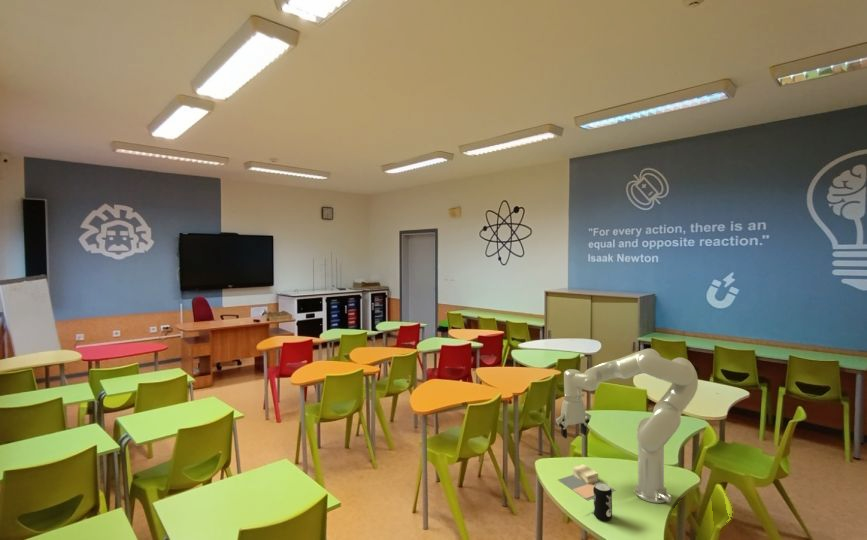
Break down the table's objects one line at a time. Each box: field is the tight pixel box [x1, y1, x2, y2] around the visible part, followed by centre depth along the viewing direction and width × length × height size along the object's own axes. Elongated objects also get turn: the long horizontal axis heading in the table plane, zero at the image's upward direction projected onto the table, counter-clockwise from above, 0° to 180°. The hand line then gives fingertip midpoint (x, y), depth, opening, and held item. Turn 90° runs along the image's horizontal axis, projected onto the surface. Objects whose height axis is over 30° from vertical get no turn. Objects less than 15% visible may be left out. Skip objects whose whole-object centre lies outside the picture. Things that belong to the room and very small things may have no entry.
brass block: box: [572, 463, 599, 484], centre depth 191 cm, size 9×6×4 cm, turn 25°
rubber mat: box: [557, 474, 617, 501], centre depth 185 cm, size 18×16×1 cm
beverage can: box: [593, 481, 613, 522], centre depth 163 cm, size 7×7×12 cm
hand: (574, 435), depth 191 cm, fingers open, 9 cm apart
